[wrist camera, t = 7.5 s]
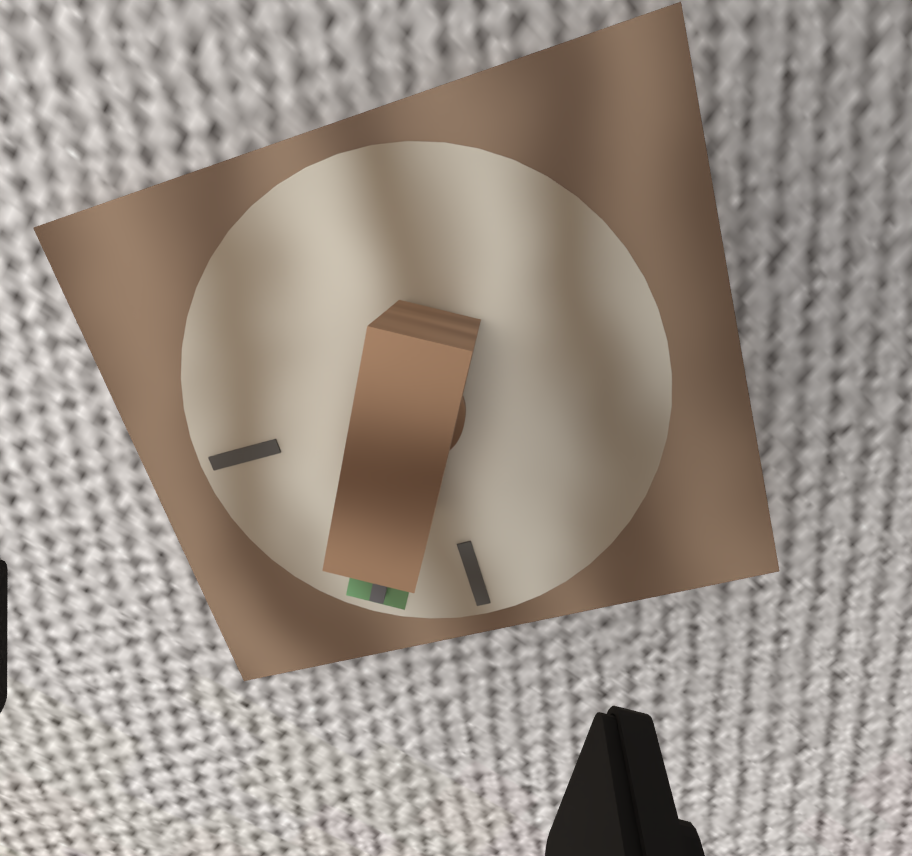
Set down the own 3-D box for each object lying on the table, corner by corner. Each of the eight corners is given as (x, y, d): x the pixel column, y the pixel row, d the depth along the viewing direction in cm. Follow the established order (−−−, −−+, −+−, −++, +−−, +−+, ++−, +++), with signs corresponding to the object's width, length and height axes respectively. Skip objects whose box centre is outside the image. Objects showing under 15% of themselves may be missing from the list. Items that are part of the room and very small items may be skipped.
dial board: (670, 14, 22) (683, -2, 21) (766, 552, 28) (782, 575, 26) (59, 226, 26) (27, 228, 24) (255, 660, 32) (241, 685, 30)
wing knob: (393, 295, 24) (356, 323, 18) (489, 319, 24) (483, 353, 18) (337, 585, 28) (293, 681, 22) (419, 606, 28) (396, 706, 22)
